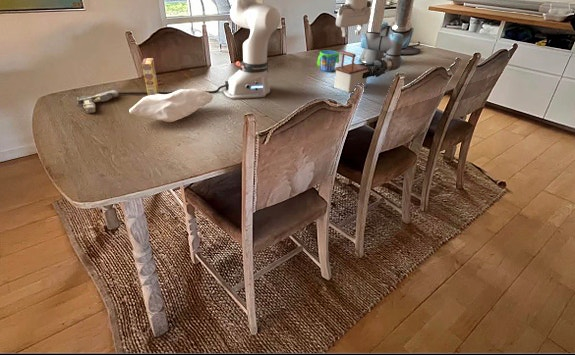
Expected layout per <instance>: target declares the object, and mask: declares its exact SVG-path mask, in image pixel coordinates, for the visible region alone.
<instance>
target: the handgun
mask: <svg viewBox="0 0 575 355" xmlns="http://www.w3.org/2000/svg"><path fill="white" fill-rule="evenodd" d="M119 96H120V94H118V91H117V90H116V89H112V90H108V91H105V92H104V91H103V92H101V93H96V94H94V95H86V94H85V95H84V94H83V95H81V96H80V97H77V98H76V101H77V104H78V105H82V108H83V109H84V110H85V113H87V114H91V113H95V112H96V104H95V103H98V102H106V101H109V100H111V99H113V98H117V97H119Z"/></svg>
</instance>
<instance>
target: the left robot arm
mask: <svg viewBox="0 0 575 355" xmlns="http://www.w3.org/2000/svg"><path fill="white" fill-rule="evenodd" d="M371 6H372V1H371V0H344V3H342V4H341V5H340V6H339V7H338V10H337V14H336V18H335V26H336V27H337V28H340V30H341V37H342V38H347V37H348V32H347V28H348V27H354V26H357V27H356V30H355V32H354V35H355V36H356V35H357V36H359V35H360V34H361V31H362V29H363V27H364V25H368V22H369V18H370V11H371V10H370V8H371ZM229 16H230V20H231V21H232V22H233V24H235V25H237V26H238V27H240V28H243V29H249V31H250V33H249V35H248V38H247V39H246V40H244V42H243V43H242V59H243V60H242V61H236V62H235V65H236V66H237V67H239V69H237V71H236V72H235V73H234V74H232V75H231V76H230V77H229V78H228V80H225V81H224V84H223V85H220V86H218V88H217V89H215V90H205V91H206V92H208V93H210V94H216V93H218V92H220V90H221V89H223V91H222V92H223V94H224V95H225V96H226V97H228V98H230V99H233V100H236V99H237V100H238V99H239V100H240V99H253V98H254V99H255V98H264V97H266V95H268V94H269V93H270V92H271V88H270V84H269V78H268V76H269V75H268V72H269V61H268V47H269V46H268V45H269V40H270V38H271V36H272V34H273V33H274V32H275V31H276V30H277V29H279V26H280V23H281V15H280V12H279V10H278V9H277V8H276V7H273V6H272V5H269V4H266V3H260V2H258V1H257V0H234V2H233V3H232V5H231V7H230V10H229ZM117 92H118V91H117ZM173 92H174V91H159V92H158V94H164V95H167V94H171V93H173ZM118 94H119V95H148V93H147V91H120V92H118Z"/></svg>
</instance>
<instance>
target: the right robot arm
mask: <svg viewBox="0 0 575 355" xmlns="http://www.w3.org/2000/svg"><path fill="white" fill-rule="evenodd" d="M371 2H372V6H371V7H369V8H370V10H371V11H370V18H369V22H368V23H367V27H366V32H365V33H363V34H362V35H361V39H360V48H361V49H363V50H362V53H361V54H360V57H359V63H357V64H358V65H362V66H365V67H368V72H364V73H363V77H362V78H363V79H364V78H367V79H368V78H370V77H375V78H379V77H381V76H382V75H383V74H386V73H387V72H392V71H395V70H398V69H400V68H401V67H402V65H403V57H402V56H401V54H400V53H401V48H407V47H412V46H413V47H418V46H420V44H421V42H420V41H418V42H417V44H411V45H410V43H411V41H412V38H413V37H412V36H413V34H414V27H413V25H412V23H411V18H412V13H413V6H414V2H415V0H397V1H396V8H395V14H394V19H393V20H394V21H392V22H391V24H390V25H389V23H388V22H386V21H384V15H385V10H386V4H387V0H371ZM383 51H387V52H383Z"/></svg>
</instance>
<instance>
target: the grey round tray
mask: <svg viewBox="0 0 575 355" xmlns="http://www.w3.org/2000/svg"><path fill="white" fill-rule="evenodd" d="M383 52H384V53H387V51H383ZM419 53H421V49H420V48H419V47H415V46H412V47H407V48H401V53H400V55H415V54H419Z"/></svg>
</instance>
